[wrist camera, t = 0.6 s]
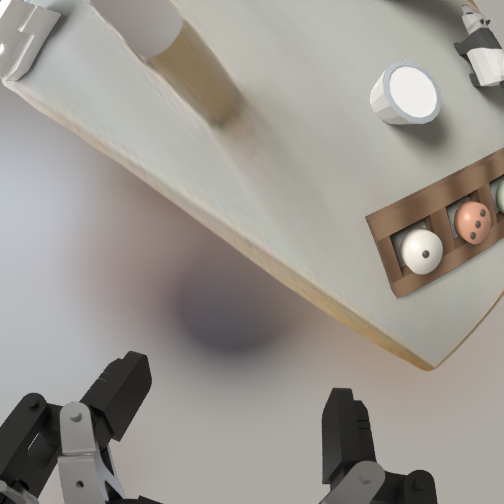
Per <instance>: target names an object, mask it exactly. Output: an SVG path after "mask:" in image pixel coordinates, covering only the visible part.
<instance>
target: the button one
mask: <svg viewBox="0 0 504 504" xmlns="http://www.w3.org/2000/svg"><path fill="white" fill-rule="evenodd" d="M442 254H443V246H442V242H441V240H440V239H439V237H438V236H437V235H435V234H434V233H432V232H430V231H429V230H427V229H425V228H420V227H419V228H414V229H412V230H410V231H409V232H408V233H407V234H406V235H405V236H404V238H403V240H402V242H401V246H400V255H401V258H402V260H403V262H404V263H405V264H406V265H407V266H408V267H409V268H410V269H411V270H412V271H413V272H414V273H416V274H427V273H429V272H431V271H433V270H434V269H435V268H436V267H437V266H438V264H439V263H440V261H441V258H442Z"/></svg>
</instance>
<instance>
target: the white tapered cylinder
mask: <svg viewBox="0 0 504 504" xmlns="http://www.w3.org/2000/svg"><path fill="white" fill-rule="evenodd" d="M370 103H371V106H372V109H373V111H374V113H375V114H376V115H377V116H378V117H379V118H380V119H381V120H383V121H385V122H387V123H389V124H396V125H400V124H424V123H427V122H430V121H432V120H433V119H434V118H435V117H436V116H437V115H438V114H439V111H440V107H441V103H442V102H441V94H440V90H439V87H438V85H437V83H436V81H435V79H434V78H433V77H432V76H431V75H430V74H429V72H428V71H427V70H426V69H424V68H423V67H421V66H419V65H418V64H416V63H414V62H409V61H404V60H402V61H398V62H394V63H392V64H391V65H390V66H389V67H388V68H387V69H386V70H385V71H384V72H383V74H382V75H381V77H380V78H379V80H378V81H377V83H376V84H375V86H374V87H373V88H372V91H371V94H370Z"/></svg>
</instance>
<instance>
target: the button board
mask: <svg viewBox="0 0 504 504" xmlns="http://www.w3.org/2000/svg"><path fill="white" fill-rule="evenodd" d="M503 174H504V148H502V149H500V150H498V151H496V152H494V153H492V154H490V155H489V156H487V157H485V158H483V159H481V160H479V161H477V162H475V163H473V164H471V165H469V166H467V167H465V168H463V169H461V170H459V171H457V172H455V173H453V174H451V175H449V176H447V177H445V178H443V179H441V180H439V181H437V182H435V183H433V184H431V185H429V186H427V187H425V188H423V189H421V190H419V191H417V192H415V193H413V194H411V195H409V196H407V197H405V198H403V199H401V200H399V201H397V202H395V203H393V204H391V205H389V206H387V207H385V208H383V209H381V210H379V211H376V212H374V213H372V214H370V215H368V216H366V217H365V218H366V220H367V223H368V225H369V228H370V230H371V233H372V235H373V238H374V241H375V243H376V246H377V249H378V251H379V254H380V257H381V260H382V263H383V265H384V268H385V271H386V274H387V277H388V280H389V283H390V286H391V290H392V291H393V293H394V294H395V296H396V297H397V299H398V298H400V297H402V296H404V295H406V294H408V293H410V292H412V291H414V290H416V289H418V288H420V287H422V286H424V285H425V284H427V283H429V282H431V281H433V280H435V279H437V278H438V277H440V276H442V275H444V274H445V273H447V272H449V271H451V270H452V269H454V268H456V267H457V266H459V265H461V264H462V263H464V262H466V261H467V260H469V259H471V258H472V257H474V256H475V255H477V254H479V253H480V252H482V251H483V250H485V249H486V248H488V247H489V246H491V245H492V244H494V243H495V242H497V241H498V240H500V239H501V238H503V237H504V214H503V213H502V212H501V211H500V212H499V213H497V214H495V209H494V204H493V199H492V194H491V190H490V186H489V182H491V181H492V180H494V179H496V178H497V177H499V176H501V175H503ZM468 194H469V195H470V199H471V201H474V202H477V203H480V204H483V205H484V206H486V207H487V209H488V210H489V213H490V217H491V226H490V230H489V233H488V235H487V237H486V238H485V239H484V240H483V241H482V242H481V243H479V244H471V243H470V242H468V241H466V240H464V239H463V238H461V237H460V236H459V237H458V238H456V239H454V240H453V236H452V231H451V227H450V223H449V219H448V216H447V212H446V208H445V206H447V205H449V204H451V203H453V202H455V201H457V200H458V199H460V198H462V197H464V196H466V195H468ZM423 218H424V221H425V224H426V228H427V230H429V231H430V232H432V233H434V234H435V235H437V236H438V237H439V239H440V240H441V242H442V246H443V254H442V258H441V261H440V263H439V264H438V266H437V267H436V268H435V269H434V270H433V271H431V272H429V273H427V274H416V273H414V272H413V271H412V270H411V269H410V268H409V267H408V266H407V265H406V266H404V267H402V268H400V267H399V264H398V261H397V257H396V254H395V251H394V248H393V245H392V243H391V240H390V237H389V235H391V234H393V233H395V232H397V231H399V230H401V229H403V228H405V227H407V226H409V225H411V224H413V223H415V222H417V221H419V220H421V219H423Z"/></svg>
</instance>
